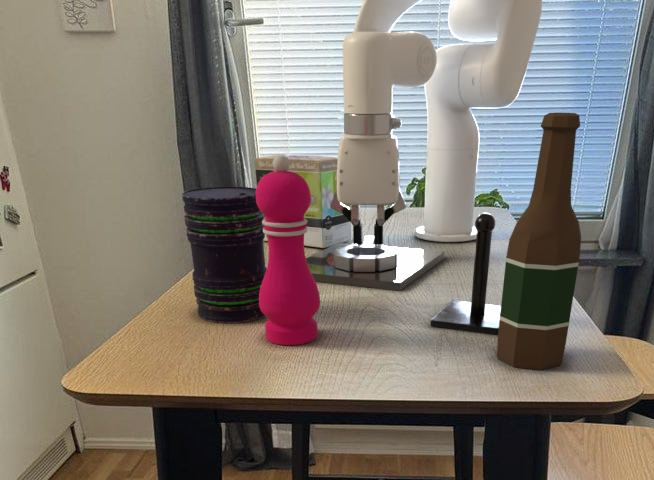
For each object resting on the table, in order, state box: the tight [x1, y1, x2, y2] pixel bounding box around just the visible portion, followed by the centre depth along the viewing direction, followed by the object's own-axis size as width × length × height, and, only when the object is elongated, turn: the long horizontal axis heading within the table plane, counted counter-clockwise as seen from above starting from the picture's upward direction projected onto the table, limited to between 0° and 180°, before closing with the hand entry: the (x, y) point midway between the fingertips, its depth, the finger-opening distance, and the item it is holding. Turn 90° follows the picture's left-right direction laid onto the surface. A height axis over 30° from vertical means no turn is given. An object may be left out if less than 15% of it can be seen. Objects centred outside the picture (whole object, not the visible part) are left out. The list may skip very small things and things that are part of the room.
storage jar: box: [181, 186, 267, 324], centre depth 86 cm, size 10×10×15 cm
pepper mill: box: [256, 154, 321, 346], centre depth 76 cm, size 7×7×20 cm
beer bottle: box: [496, 112, 582, 371], centre depth 68 cm, size 8×8×24 cm
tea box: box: [254, 153, 352, 249], centre depth 125 cm, size 15×10×15 cm
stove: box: [306, 242, 446, 292], centre depth 110 cm, size 22×20×1 cm
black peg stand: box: [429, 212, 501, 336], centre depth 83 cm, size 10×10×13 cm
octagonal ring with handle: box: [334, 235, 398, 272], centre depth 109 cm, size 17×10×2 cm, turn 177°
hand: (368, 247), depth 114 cm, fingers closed
